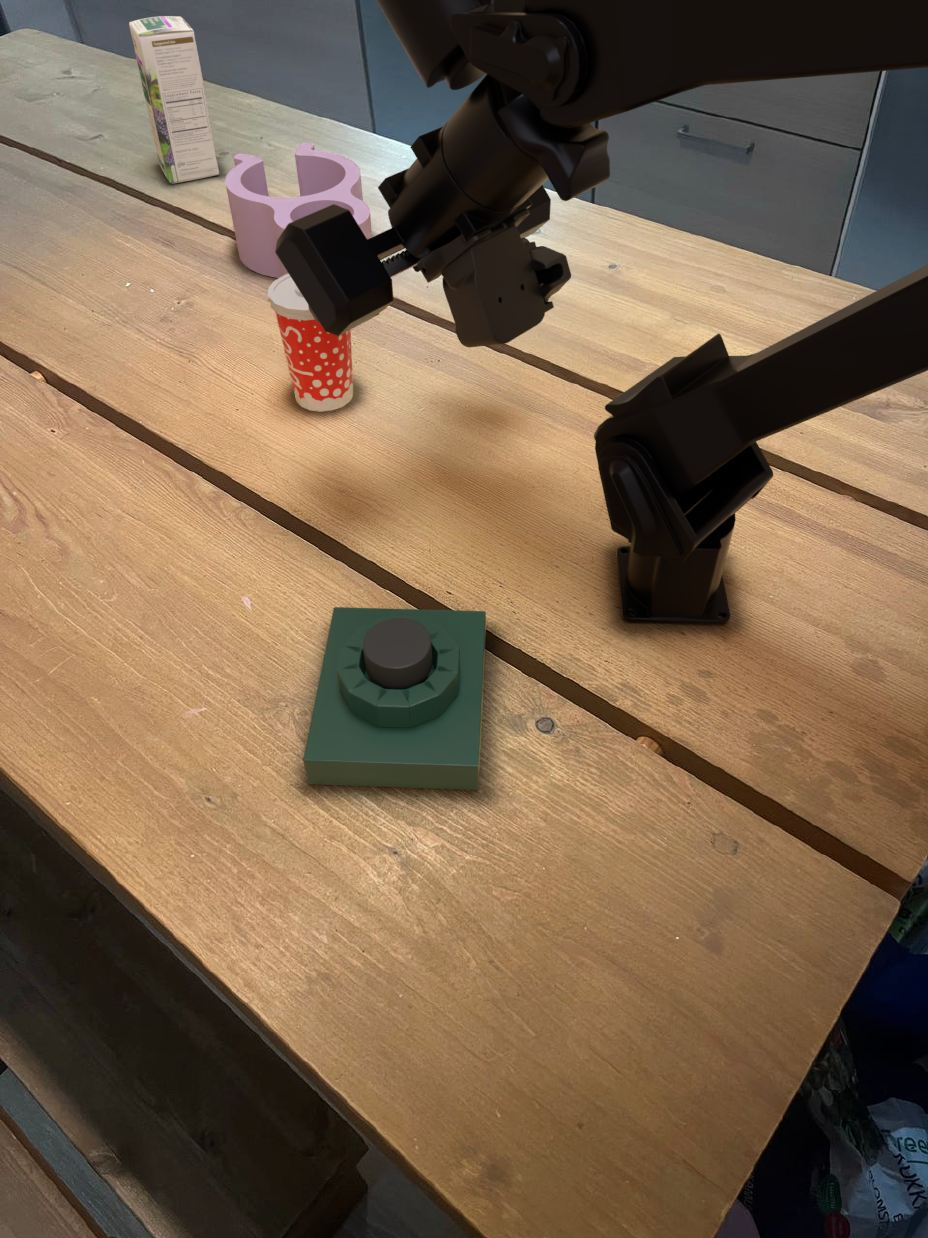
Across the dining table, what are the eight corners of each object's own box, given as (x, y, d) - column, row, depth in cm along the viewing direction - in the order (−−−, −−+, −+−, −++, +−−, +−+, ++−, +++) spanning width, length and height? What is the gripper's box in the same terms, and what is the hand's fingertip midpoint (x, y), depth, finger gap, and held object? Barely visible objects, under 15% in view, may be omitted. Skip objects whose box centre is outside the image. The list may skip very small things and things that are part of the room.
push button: (429, 691, 50) (428, 669, 49) (361, 689, 50) (358, 667, 49) (434, 640, 52) (433, 618, 51) (369, 638, 53) (367, 616, 51)
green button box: (478, 790, 50) (478, 745, 47) (308, 784, 50) (297, 739, 47) (485, 636, 57) (485, 588, 55) (337, 632, 58) (330, 584, 55)
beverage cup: (278, 382, 77) (247, 209, 67) (351, 367, 78) (332, 195, 68) (296, 424, 73) (266, 246, 63) (372, 407, 74) (355, 231, 64)
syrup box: (158, 166, 108) (124, 19, 97) (209, 157, 109) (181, 12, 99) (170, 185, 104) (135, 34, 94) (222, 175, 106) (194, 26, 95)
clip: (408, 292, 87) (404, 216, 82) (275, 320, 84) (262, 244, 79) (340, 207, 100) (333, 137, 95) (223, 229, 96) (209, 158, 91)
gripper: (449, 361, 48) (329, 453, 61) (660, 236, 58) (517, 339, 71) (326, 160, 46) (229, 300, 60) (565, 65, 56) (436, 204, 69)
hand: (366, 289), depth 65 cm, fingers open, 9 cm apart
